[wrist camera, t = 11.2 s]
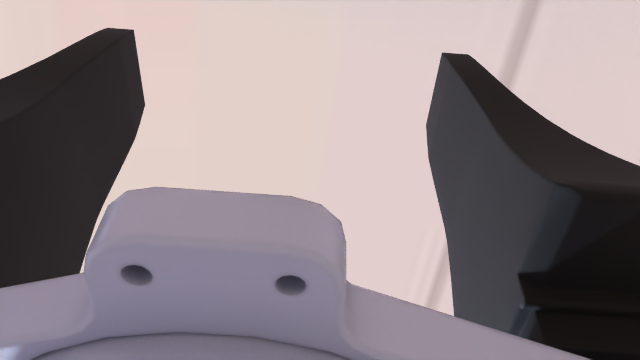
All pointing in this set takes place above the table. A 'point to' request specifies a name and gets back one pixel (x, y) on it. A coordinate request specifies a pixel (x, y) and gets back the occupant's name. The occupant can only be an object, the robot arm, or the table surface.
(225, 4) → the table surface
